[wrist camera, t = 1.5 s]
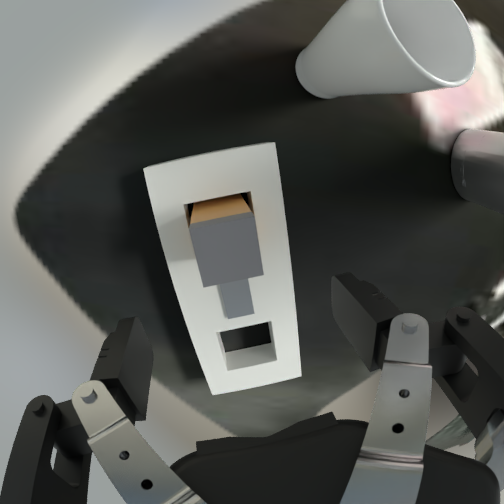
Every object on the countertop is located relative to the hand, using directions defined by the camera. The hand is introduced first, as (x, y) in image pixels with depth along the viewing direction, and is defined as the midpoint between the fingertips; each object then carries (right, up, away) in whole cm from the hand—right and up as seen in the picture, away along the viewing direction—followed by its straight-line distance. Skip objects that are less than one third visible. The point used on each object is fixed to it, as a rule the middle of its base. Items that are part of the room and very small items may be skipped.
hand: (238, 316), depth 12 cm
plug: (-2, +5, +14) cm, 15 cm away
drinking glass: (+7, +19, +10) cm, 22 cm away
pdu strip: (-1, 0, +16) cm, 16 cm away
